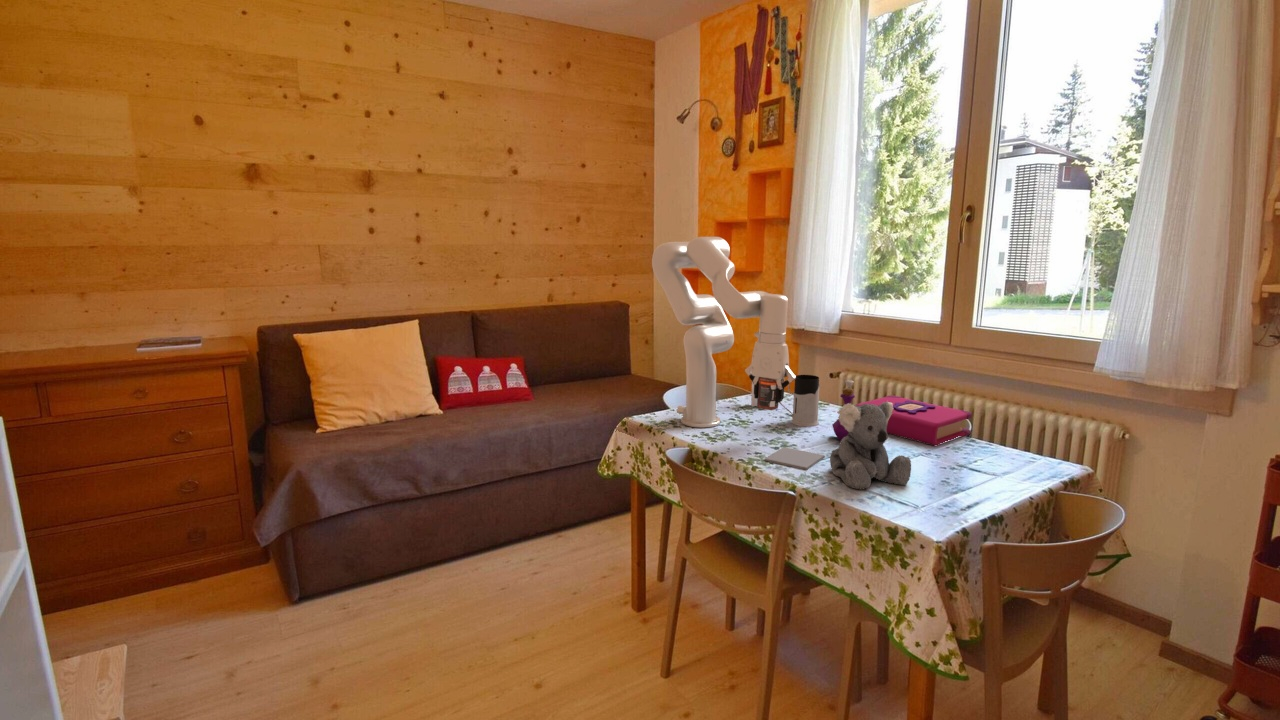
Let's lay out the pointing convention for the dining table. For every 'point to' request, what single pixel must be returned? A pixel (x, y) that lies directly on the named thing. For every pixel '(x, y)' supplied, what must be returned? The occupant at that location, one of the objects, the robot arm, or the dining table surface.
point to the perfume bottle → (847, 398)
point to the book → (923, 420)
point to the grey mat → (795, 458)
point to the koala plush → (867, 448)
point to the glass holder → (805, 401)
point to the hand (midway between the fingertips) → (768, 398)
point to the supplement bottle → (767, 394)
